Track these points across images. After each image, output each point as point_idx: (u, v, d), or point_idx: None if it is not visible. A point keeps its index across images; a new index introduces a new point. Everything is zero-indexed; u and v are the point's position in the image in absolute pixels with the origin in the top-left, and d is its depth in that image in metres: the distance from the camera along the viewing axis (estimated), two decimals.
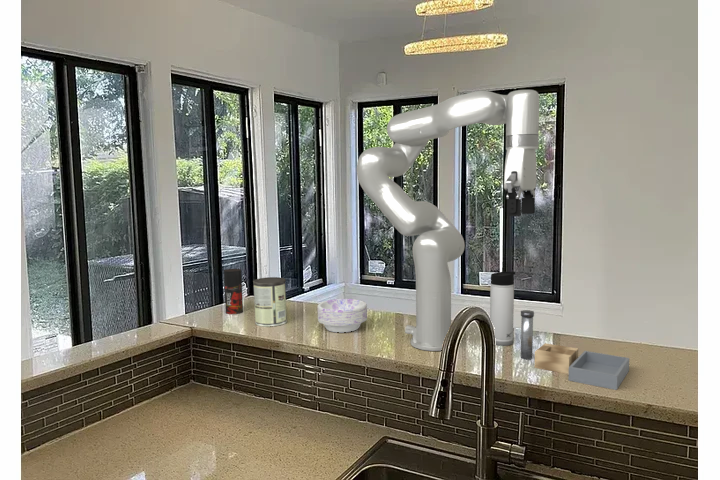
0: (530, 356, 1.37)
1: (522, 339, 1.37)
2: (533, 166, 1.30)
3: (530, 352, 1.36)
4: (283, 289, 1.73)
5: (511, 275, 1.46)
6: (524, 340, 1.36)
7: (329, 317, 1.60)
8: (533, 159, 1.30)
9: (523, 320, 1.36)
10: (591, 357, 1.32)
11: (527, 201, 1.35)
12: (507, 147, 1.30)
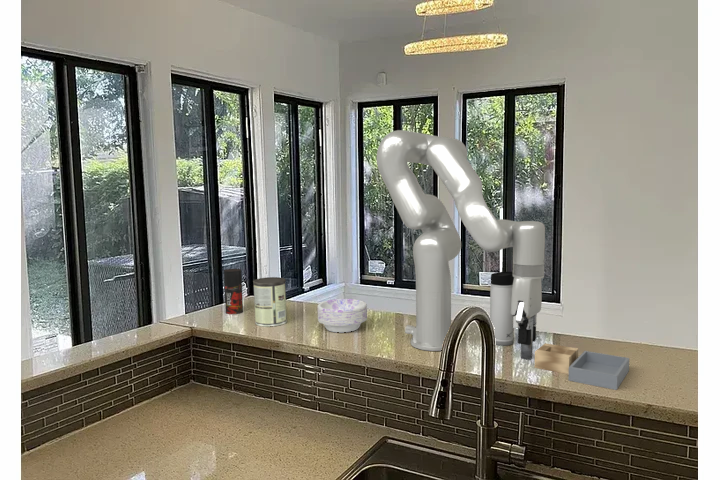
0: (530, 356, 1.37)
1: None
2: (539, 292, 1.35)
3: (530, 352, 1.36)
4: (283, 289, 1.73)
5: (511, 275, 1.46)
6: None
7: (329, 317, 1.60)
8: (539, 286, 1.35)
9: None
10: (591, 357, 1.32)
11: None
12: (513, 274, 1.35)
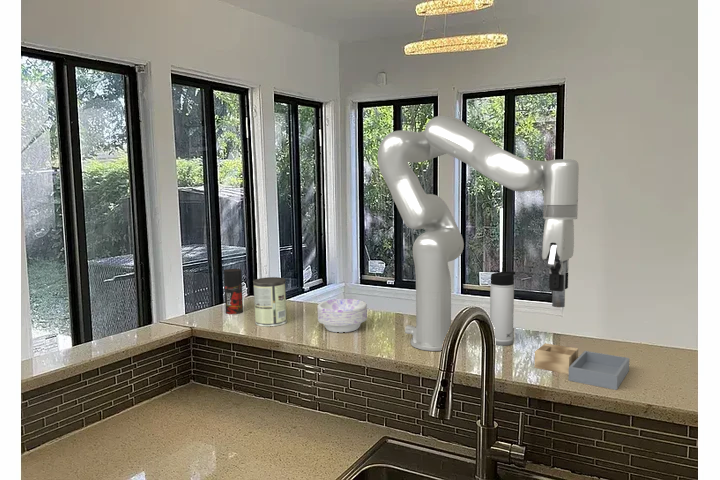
0: (562, 304, 1.29)
1: None
2: (571, 235, 1.27)
3: (562, 299, 1.28)
4: (283, 289, 1.73)
5: (511, 275, 1.46)
6: None
7: (329, 317, 1.60)
8: (572, 228, 1.27)
9: None
10: (591, 357, 1.32)
11: None
12: (545, 216, 1.27)
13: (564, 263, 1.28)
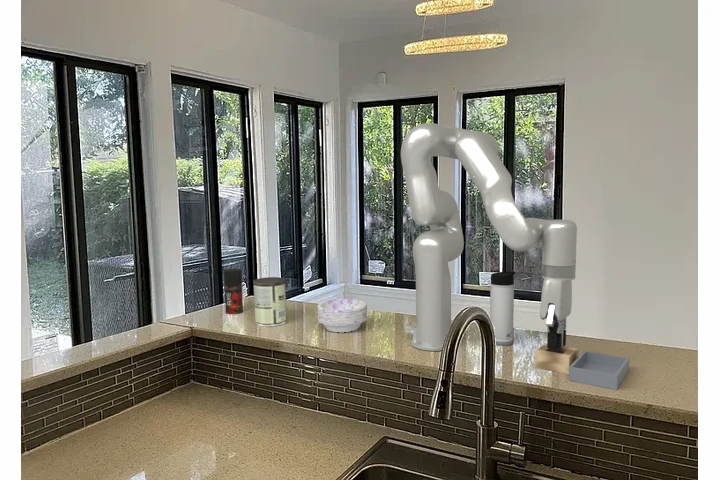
0: None
1: None
2: (569, 294, 1.29)
3: None
4: (283, 289, 1.73)
5: (511, 275, 1.46)
6: None
7: (329, 317, 1.60)
8: (569, 288, 1.29)
9: None
10: (591, 357, 1.32)
11: None
12: (543, 275, 1.29)
13: (562, 322, 1.29)
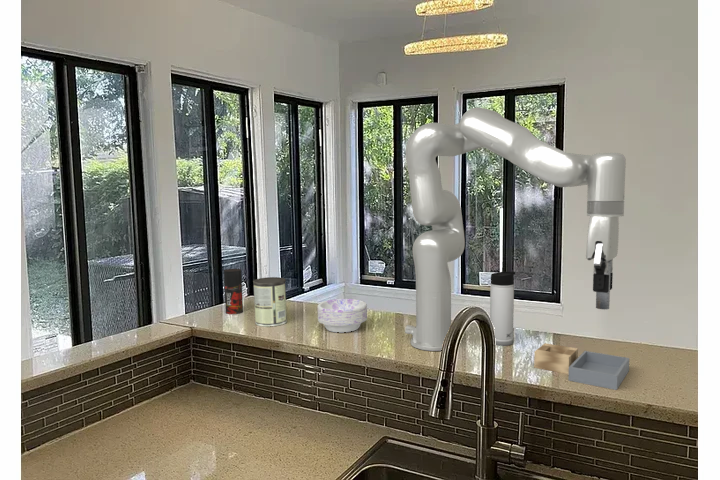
0: (607, 305, 1.22)
1: None
2: (617, 234, 1.21)
3: (607, 301, 1.22)
4: (283, 289, 1.73)
5: (511, 275, 1.46)
6: None
7: (329, 317, 1.60)
8: (617, 226, 1.20)
9: None
10: (591, 357, 1.32)
11: None
12: (589, 213, 1.21)
13: (609, 263, 1.21)
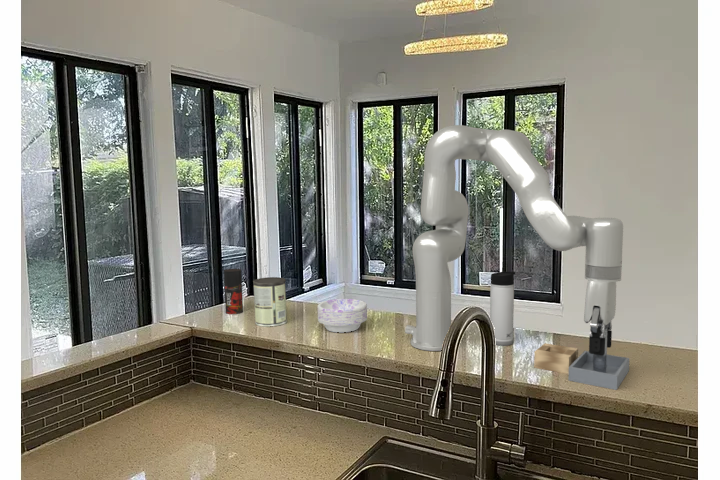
0: (604, 371, 1.24)
1: None
2: (614, 297, 1.22)
3: (604, 367, 1.23)
4: (283, 289, 1.73)
5: (511, 275, 1.46)
6: None
7: (329, 317, 1.60)
8: (615, 289, 1.22)
9: None
10: (591, 357, 1.32)
11: None
12: (587, 277, 1.22)
13: (606, 330, 1.22)
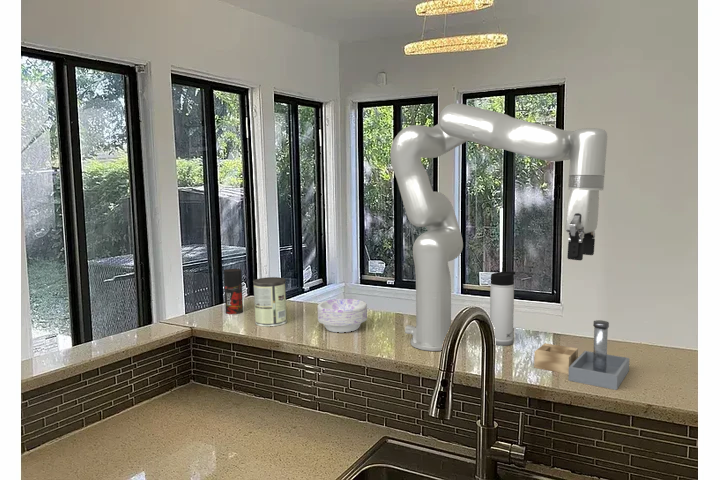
0: (604, 371, 1.24)
1: (595, 352, 1.24)
2: (596, 207, 1.25)
3: (604, 367, 1.23)
4: (283, 289, 1.73)
5: (511, 275, 1.46)
6: (598, 353, 1.23)
7: (329, 317, 1.60)
8: (597, 200, 1.24)
9: (597, 331, 1.23)
10: (591, 357, 1.32)
11: (587, 242, 1.30)
12: (570, 187, 1.25)
13: (606, 329, 1.23)
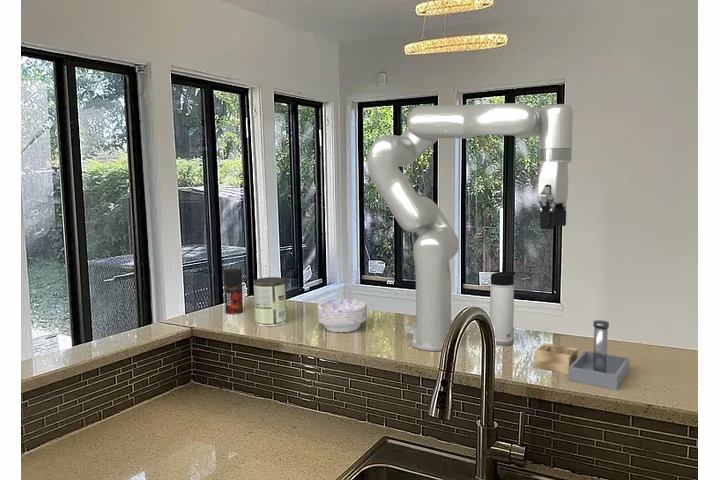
0: (604, 371, 1.24)
1: (595, 352, 1.24)
2: (566, 179, 1.32)
3: (604, 367, 1.23)
4: (283, 289, 1.73)
5: (511, 275, 1.46)
6: (598, 353, 1.23)
7: (329, 317, 1.60)
8: (566, 172, 1.31)
9: (597, 331, 1.23)
10: (591, 357, 1.32)
11: (559, 213, 1.37)
12: (540, 161, 1.32)
13: (606, 329, 1.23)
